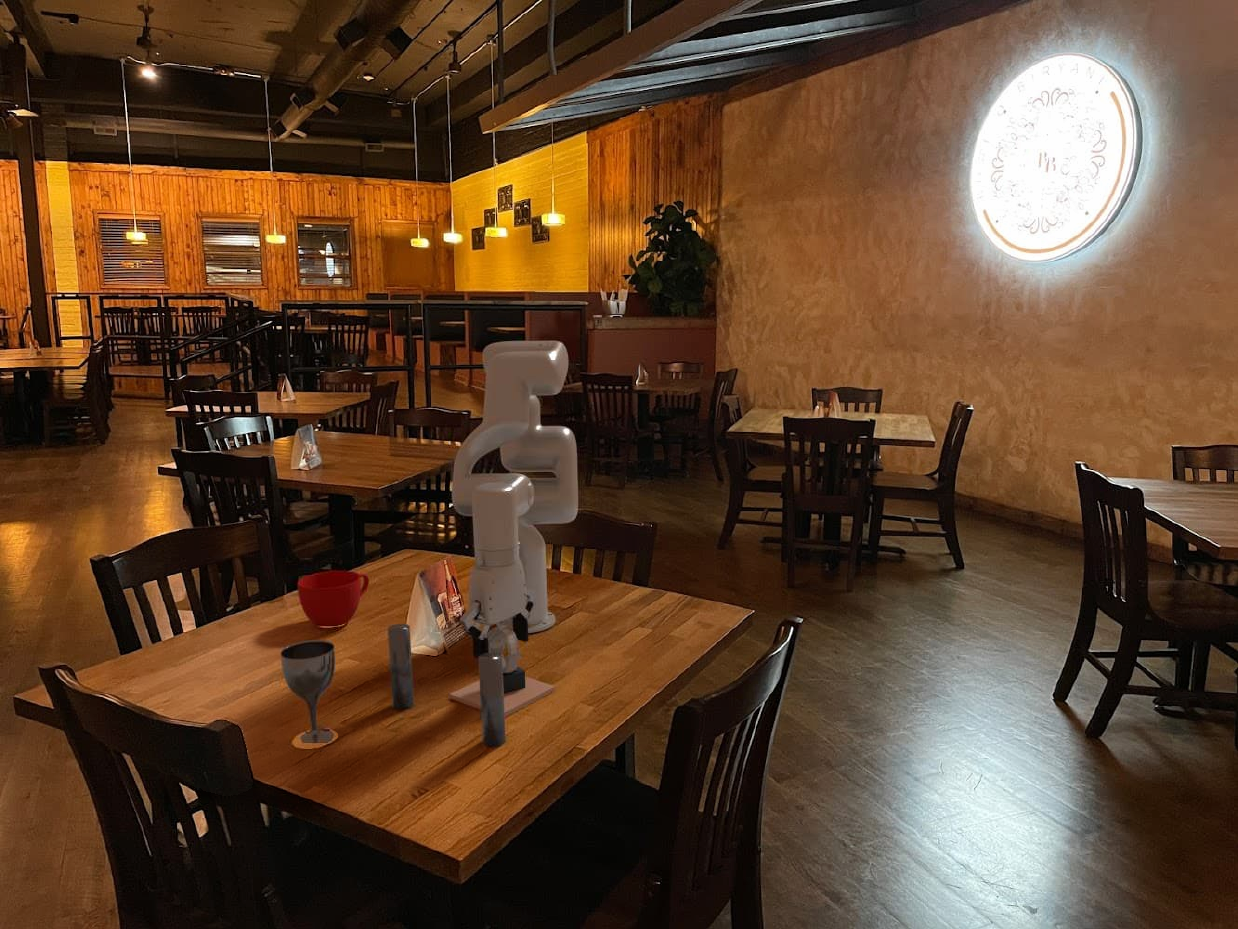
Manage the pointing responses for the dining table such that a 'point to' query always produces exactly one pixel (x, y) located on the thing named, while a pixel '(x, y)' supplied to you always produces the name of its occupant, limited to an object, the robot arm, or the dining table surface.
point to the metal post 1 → (401, 666)
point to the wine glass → (310, 679)
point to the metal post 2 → (492, 699)
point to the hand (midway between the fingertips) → (501, 649)
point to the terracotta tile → (506, 695)
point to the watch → (511, 671)
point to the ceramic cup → (331, 596)
